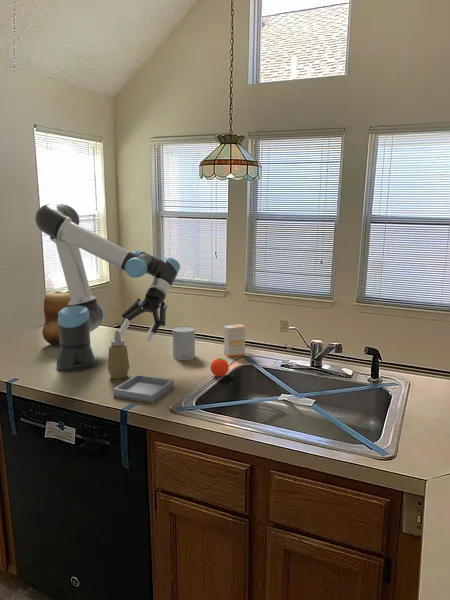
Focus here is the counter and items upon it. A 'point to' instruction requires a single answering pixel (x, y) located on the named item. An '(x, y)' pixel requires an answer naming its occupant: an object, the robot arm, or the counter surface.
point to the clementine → (219, 367)
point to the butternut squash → (53, 315)
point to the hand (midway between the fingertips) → (133, 337)
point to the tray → (143, 388)
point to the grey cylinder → (183, 343)
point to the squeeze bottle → (118, 358)
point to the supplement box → (234, 340)
